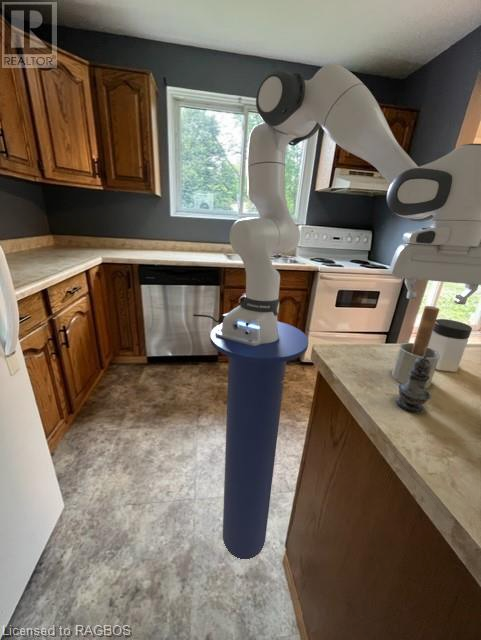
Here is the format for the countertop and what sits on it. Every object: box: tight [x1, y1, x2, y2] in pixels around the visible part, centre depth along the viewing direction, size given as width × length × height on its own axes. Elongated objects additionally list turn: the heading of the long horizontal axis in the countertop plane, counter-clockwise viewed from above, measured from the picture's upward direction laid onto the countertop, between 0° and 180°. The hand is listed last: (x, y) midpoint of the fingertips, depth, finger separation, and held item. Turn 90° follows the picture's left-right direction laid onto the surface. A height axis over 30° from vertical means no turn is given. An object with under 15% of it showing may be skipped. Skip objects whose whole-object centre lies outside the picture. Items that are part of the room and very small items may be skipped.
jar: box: [428, 318, 473, 373], centre depth 73 cm, size 9×8×12 cm
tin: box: [391, 342, 440, 389], centre depth 66 cm, size 8×8×8 cm
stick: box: [411, 305, 440, 357], centre depth 64 cm, size 3×3×18 cm
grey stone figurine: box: [395, 355, 432, 414], centre depth 55 cm, size 6×6×12 cm
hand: (434, 301), depth 60 cm, fingers open, 8 cm apart
